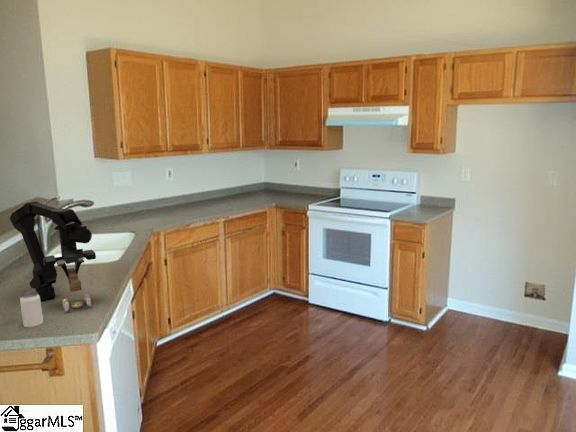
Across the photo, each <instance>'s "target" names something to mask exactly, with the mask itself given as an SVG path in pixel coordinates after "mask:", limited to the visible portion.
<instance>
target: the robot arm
mask: <svg viewBox="0 0 576 432" xmlns="http://www.w3.org/2000/svg"><path fill="white" fill-rule="evenodd" d="M37 216H40V217H43V218H46V219H49V220H51V222H52V223H53V224H55V225H56V226H55V227H54V230H55V231H58V234H59V235H58V236H59V244H60V253H61V254H60V255H61V256H57V257H55V255H54V254H53V255H46V256H45V253H44V250H43V248H42V245H41V242H40V241H39V238H38V236H37V233H36V230H35V227H36V217H37ZM9 220H10V222H11V224H12V226H13V228H14V229H15V230H17V232H19V233H20V234H21V236H22V239H23V240H24V243H25V246H26V249H27V251H28V253H29V256H30V258H31V261H32V263H33V268H32V277H33V278H32V279H31V280H30V281H29V287H30V288H31V289H35V292H38V295H39V296H40V301H41V302H46V301H50V300H51V301H52V300H55V297H56V292H55V287H54V286H53V284H56V283H57V277H58V270H57V269H56V266H55V265H57V267H60V268H62V270H63V272H64V273H65V276H66V278H67V279H69V274H68V271H67V269H68V268H67V267H68V266H67V265H68V264H69V265H70V264H74V269H75V271H76V273H77V275H78V274H79V271H80V267H81V265H82V264H84V263H85V260H84V259H86V260H87V261H92V260H96V259H97V256H96V252H95V251H94V250H93V249H88V250H86V249H85V250H83V248H77V243H79V244H88V243H90V241H91V240H92V238H93V235H92V231H91V230H90V229H89V228H88V227H87V225H83V222H82V220H81V219H79V217H78V215H77V213H76V212H75V211H74V209H72V208H56V207H53V206H49V205H46V204H43V203H40V202H38V201H30V202H26V203H25V204H23V205H22V206H21V207H19V208H18V209H17V210H14V211H13V212H12V213H11V215H10V217H9ZM78 276H79V275H78Z"/></svg>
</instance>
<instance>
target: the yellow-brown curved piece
mask: <svg viewBox="0 0 576 432" xmlns="http://www.w3.org/2000/svg"><path fill="white" fill-rule="evenodd" d="M74 302H75V301H74ZM71 306H72V309H80V308H82V307H83V305H82V302H75V303H72V304H71Z"/></svg>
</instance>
